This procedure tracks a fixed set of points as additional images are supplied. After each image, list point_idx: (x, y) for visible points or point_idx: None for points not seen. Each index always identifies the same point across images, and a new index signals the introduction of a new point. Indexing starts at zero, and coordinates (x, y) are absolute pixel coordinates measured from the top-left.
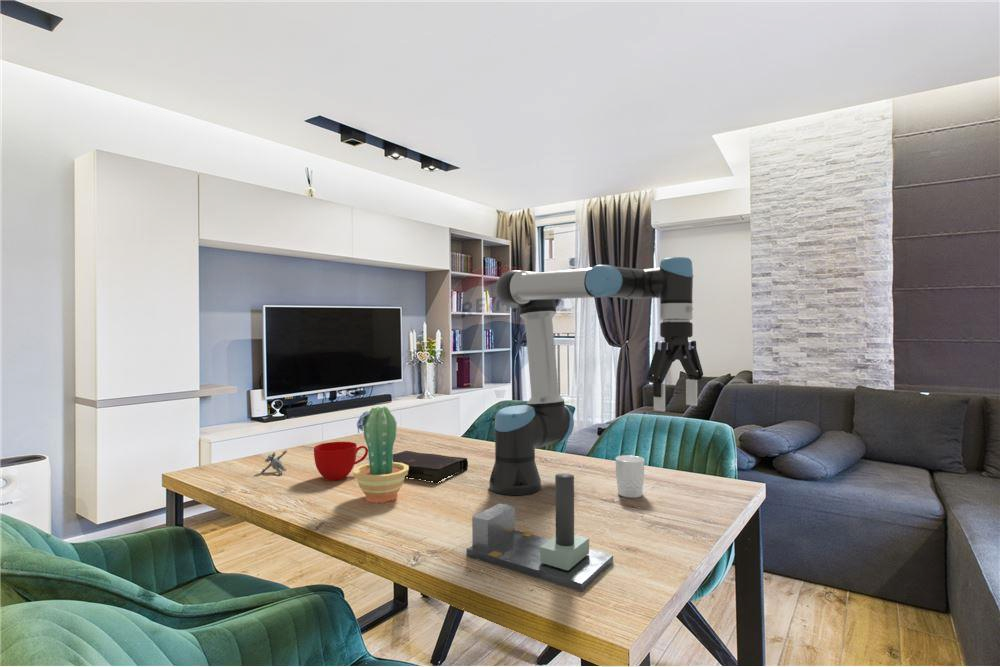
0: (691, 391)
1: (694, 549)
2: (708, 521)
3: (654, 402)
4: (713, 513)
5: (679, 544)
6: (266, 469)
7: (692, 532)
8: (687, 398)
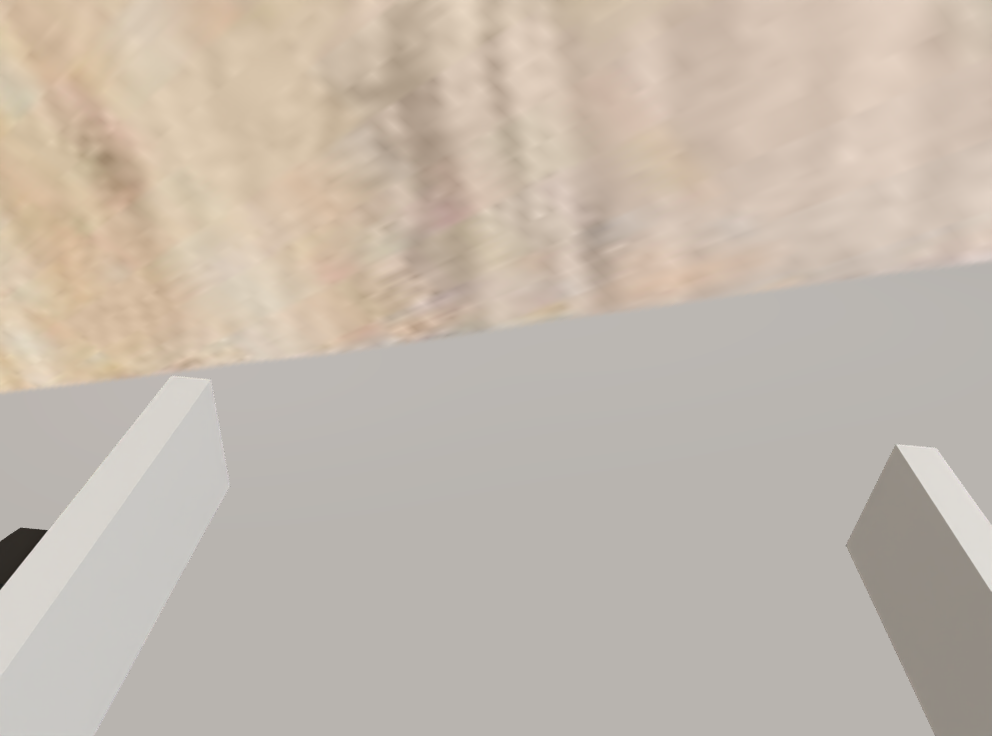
0: (950, 664)
1: (307, 320)
2: (598, 244)
3: (125, 448)
4: (713, 218)
5: (300, 269)
6: None
7: (437, 251)
8: (924, 525)
